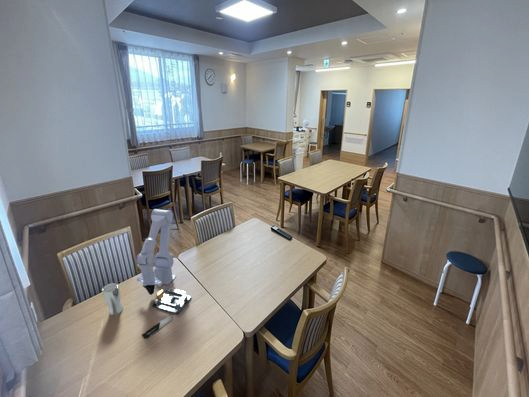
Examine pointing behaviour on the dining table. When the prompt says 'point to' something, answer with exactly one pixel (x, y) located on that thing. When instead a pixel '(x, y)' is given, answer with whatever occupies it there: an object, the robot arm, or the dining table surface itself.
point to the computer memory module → (157, 327)
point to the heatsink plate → (177, 302)
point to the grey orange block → (164, 297)
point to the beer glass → (112, 298)
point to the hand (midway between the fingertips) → (151, 293)
